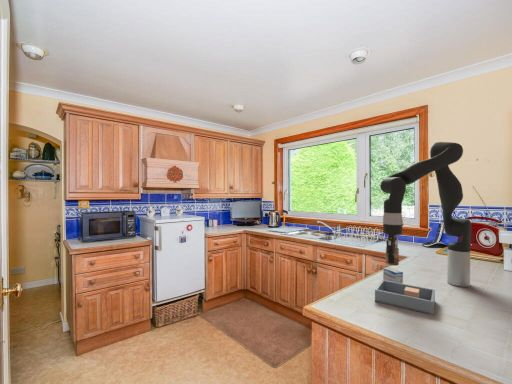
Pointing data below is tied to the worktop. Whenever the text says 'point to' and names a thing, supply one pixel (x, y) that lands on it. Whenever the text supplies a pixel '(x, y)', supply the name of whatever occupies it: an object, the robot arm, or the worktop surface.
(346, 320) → the worktop surface
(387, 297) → the tote
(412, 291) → the terracotta cube
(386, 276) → the medicine box
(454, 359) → the worktop surface
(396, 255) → the walnut cylinder
